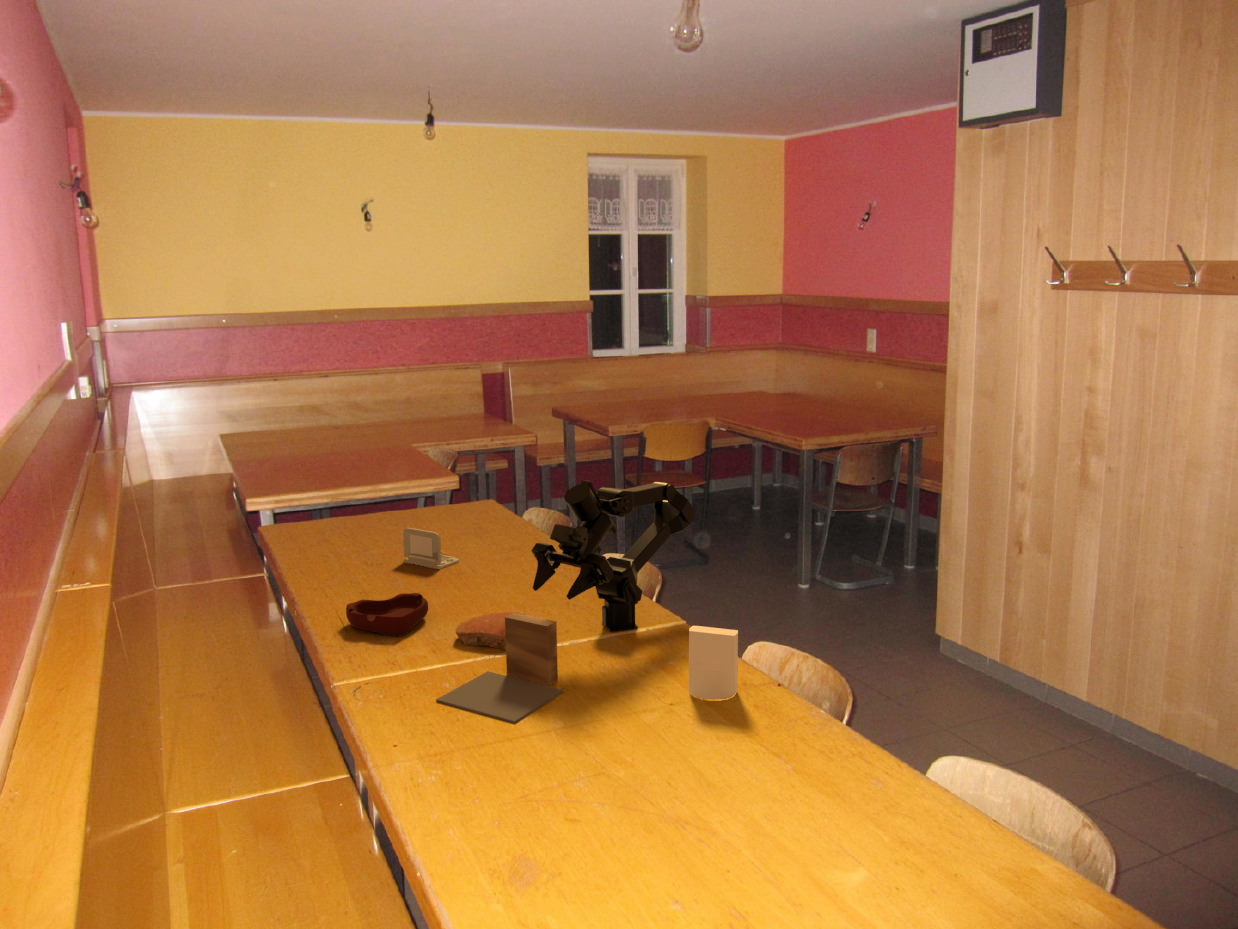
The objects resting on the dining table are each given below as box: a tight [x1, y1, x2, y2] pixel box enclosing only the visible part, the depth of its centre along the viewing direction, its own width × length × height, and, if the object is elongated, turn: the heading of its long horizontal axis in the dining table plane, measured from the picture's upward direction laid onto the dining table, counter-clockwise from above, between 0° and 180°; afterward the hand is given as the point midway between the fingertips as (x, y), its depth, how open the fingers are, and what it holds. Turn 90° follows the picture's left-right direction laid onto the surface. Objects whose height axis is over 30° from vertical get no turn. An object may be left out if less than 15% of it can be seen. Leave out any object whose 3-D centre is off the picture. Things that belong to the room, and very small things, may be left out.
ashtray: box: [345, 592, 429, 637], centre depth 217 cm, size 18×16×5 cm
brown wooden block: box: [505, 612, 559, 687], centre depth 187 cm, size 3×10×12 cm, turn 59°
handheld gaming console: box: [402, 527, 460, 570], centre depth 266 cm, size 13×9×10 cm
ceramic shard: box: [455, 611, 526, 650], centre depth 210 cm, size 15×6×15 cm
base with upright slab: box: [688, 625, 739, 700], centre depth 180 cm, size 9×9×12 cm
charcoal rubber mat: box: [435, 670, 564, 724], centre depth 180 cm, size 15×18×1 cm
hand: (550, 593), depth 196 cm, fingers open, 9 cm apart
